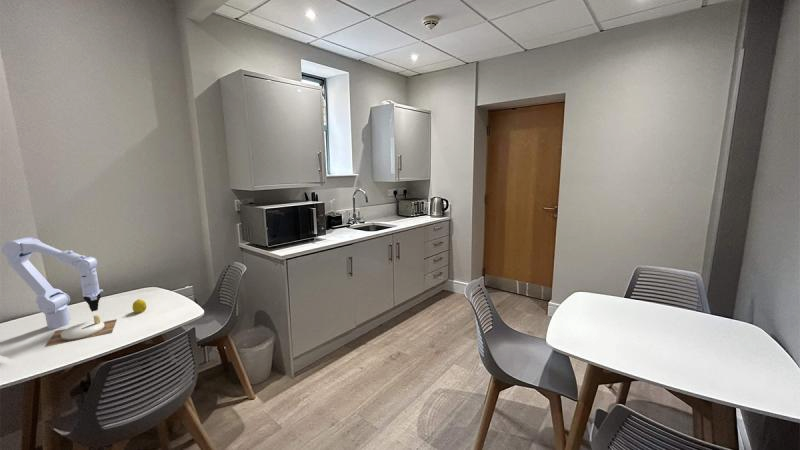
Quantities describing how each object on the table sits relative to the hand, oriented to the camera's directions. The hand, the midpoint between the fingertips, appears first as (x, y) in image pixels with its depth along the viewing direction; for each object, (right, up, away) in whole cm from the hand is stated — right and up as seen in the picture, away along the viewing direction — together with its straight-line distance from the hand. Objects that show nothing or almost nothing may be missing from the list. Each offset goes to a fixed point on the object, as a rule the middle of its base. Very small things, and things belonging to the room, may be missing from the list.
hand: (94, 310), depth 154 cm
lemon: (+11, -5, +13) cm, 18 cm away
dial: (+3, -7, -8) cm, 11 cm away
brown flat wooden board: (+3, -9, -8) cm, 12 cm away
